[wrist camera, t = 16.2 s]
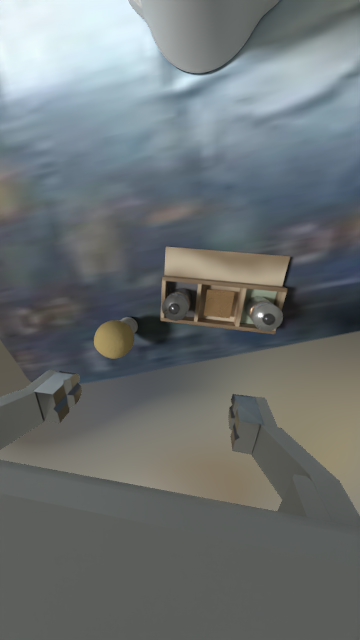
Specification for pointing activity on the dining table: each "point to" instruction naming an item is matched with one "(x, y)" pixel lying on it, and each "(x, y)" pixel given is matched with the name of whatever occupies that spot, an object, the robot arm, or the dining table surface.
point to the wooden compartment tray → (224, 283)
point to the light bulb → (115, 337)
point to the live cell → (263, 313)
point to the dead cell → (177, 304)
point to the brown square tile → (218, 303)
